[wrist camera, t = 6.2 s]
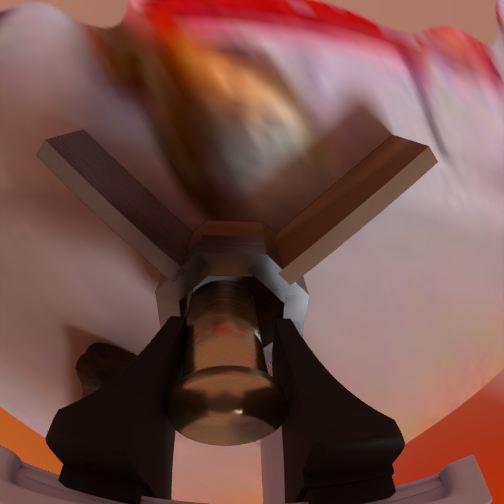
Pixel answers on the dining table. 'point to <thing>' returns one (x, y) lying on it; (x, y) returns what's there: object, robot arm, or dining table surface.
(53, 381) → the dining table surface
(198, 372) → the bronze pin
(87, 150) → the grey ring with handle
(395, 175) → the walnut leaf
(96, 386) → the hand tool
